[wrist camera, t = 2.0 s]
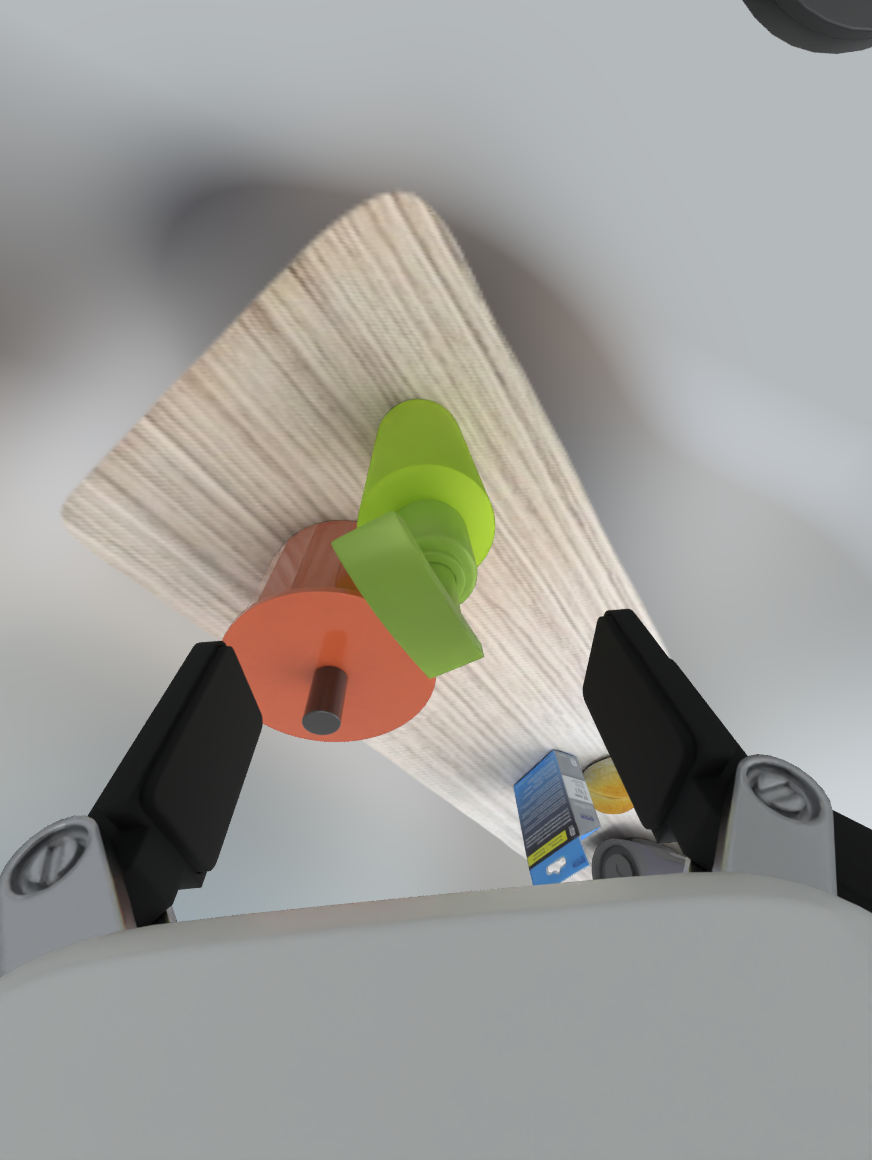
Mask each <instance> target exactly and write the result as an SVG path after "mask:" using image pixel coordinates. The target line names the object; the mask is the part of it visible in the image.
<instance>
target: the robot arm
mask: <svg viewBox="0 0 872 1160" xmlns="http://www.w3.org/2000/svg"><path fill="white" fill-rule="evenodd" d="M583 697H584V700H585V703H586V705H587V707H588V709H589V711H590V714H591V716H592V718H593V720H594V722H595V724H596V727H597V729H598V731H599V733H600V735H601V737H602V740H603V742H604V744H605V746H606V748H607V750H608V753H609V755H610V757H611V759H612V761H613V763H614V765H615V768H616V770H617V772H618V774H619V776H620V778H621V781H622V783H623V785H624V787H625V789H626V791H627V794H628V796H629V798H630V800H631V802H632V804H633V807H634V809H635V811H636V813H637V815H638V817H639V819H640V821H641V823H642V825H643V826H644V828H646V829H651V830H652V832H653V835H654V837H655V839H656V841H657V843H658V844H660V843H671V842H678V844H679V846H680V848H681V850H682V852H683V854H684V855H685V856H686V861H685V865H684V870H683V873H675V874H662V875H648V876H634V877H621V878H608V879H598V880H587V881H576V882H565V883H555V884H544V885H533V886H523V887H512V888H501V889H490V890H480V891H470V892H460V893H449V894H439V895H430V896H419V897H409V898H399V899H389V900H380V901H368V902H358V903H349V904H338V905H329V906H319V907H309V908H300V909H290V910H281V911H271V912H261V913H251V914H241V915H232V916H224V917H216V918H207V919H200V920H192V921H183V922H177V920H176V917H175V914H174V911H173V908H172V904H173V902H174V899H175V897H176V894H177V892H178V890H181V889H190V888H200V887H202V884H203V881H204V879H205V876H206V873H207V871H211V870H212V869H213V868H214V866H215V864H216V862H217V859H218V857H219V854H220V851H221V848H222V845H223V842H224V839H225V836H226V833H227V830H228V827H229V824H230V821H231V818H232V815H233V812H234V809H235V806H236V803H237V801H238V798H239V794H240V792H241V789H242V786H243V783H244V780H245V777H246V774H247V771H248V768H249V765H250V762H251V759H252V756H253V753H254V750H255V747H256V744H257V741H258V738H259V735H260V733H261V729H262V724H263V718H262V714H261V711H260V709H259V707H258V704H257V702H256V700H255V697H254V695H253V693H252V690H251V688H250V686H249V683H248V681H247V679H246V677H245V674H244V672H243V670H242V667H241V665H240V663H239V660H238V658H237V656H236V653H235V651H234V649H233V647H231V646H227V645H226V643H225V642H223V641H214V642H201V643H197V644H196V645H195V646H194V647H193V648H192V650H191V652H190V653H189V655H188V656H187V658H186V660H185V661H184V663H183V665H182V666H181V667H180V669H179V671H178V672H177V674H176V676H175V677H174V679H173V680H172V682H171V684H170V685H169V687H168V688H167V690H166V692H165V693H164V695H163V696H162V698H161V700H160V701H159V703H158V704H157V706H156V707H155V709H154V711H153V712H152V713H151V715H150V717H149V719H148V720H147V722H146V723H145V725H144V726H143V728H142V730H141V731H140V733H139V734H138V736H137V738H136V739H135V741H134V742H133V744H132V746H131V747H130V749H129V750H128V752H127V754H126V755H125V757H124V758H123V760H122V762H121V763H120V765H119V766H118V768H117V770H116V771H115V773H114V774H113V776H112V778H111V779H110V781H109V783H108V784H107V786H106V787H105V789H104V790H103V792H102V794H101V795H100V797H99V799H98V800H97V802H96V803H95V805H94V806H93V808H92V810H91V811H90V813H89V814H88V816H72V817H68V818H65V819H61V820H59V821H57V822H55V823H53V824H51V825H49V826H47V827H45V828H44V829H42V830H41V831H39V832H38V833H37V834H35V835H34V836H32V837H31V838H30V839H29V840H28V841H27V842H26V843H24V844H23V845H22V846H21V847H20V848H19V849H18V850H17V851H16V852H15V854H14V855H13V856H12V858H11V859H10V860H9V861H8V863H7V864H6V865H5V867H4V869H3V871H2V873H1V875H0V1160H872V830H871V829H869V828H867V827H865V826H863V825H861V824H859V823H857V822H855V821H853V820H851V819H849V818H847V817H845V816H843V815H841V814H840V813H838V812H835V811H834V810H832V807H831V803H830V800H829V798H828V797H827V795H826V794H825V792H824V790H823V789H822V788H821V787H820V786H819V785H818V784H817V782H816V781H815V780H814V779H813V778H812V777H810V776H809V775H807V774H806V773H805V772H803V771H802V770H801V769H800V768H798V767H796V766H794V765H792V764H790V763H789V762H787V761H785V760H782V759H779V758H776V757H773V756H768V755H760V754H756V755H751V756H747V755H746V753H745V752H744V751H743V749H742V748H741V747H740V746H739V744H738V743H737V742H736V740H735V739H734V738H733V736H732V735H731V734H730V733H729V731H728V730H727V729H726V727H725V726H724V725H723V724H722V722H721V721H720V720H719V718H718V717H717V716H716V714H715V713H714V712H713V711H712V709H711V708H710V707H709V705H708V704H707V703H706V702H705V700H704V699H703V698H702V696H701V695H700V694H699V692H698V691H697V690H696V689H695V687H694V686H693V685H692V683H691V682H690V681H689V679H688V678H687V677H686V675H685V674H684V673H683V672H682V670H681V669H680V668H679V666H678V665H677V664H676V663H675V662H674V661H673V660H672V659H670V658H669V657H668V656H667V655H666V654H665V652H664V651H663V650H662V648H661V647H660V646H659V644H658V643H657V642H656V640H655V639H654V638H653V636H652V635H651V634H650V633H649V631H648V630H647V629H646V627H645V626H644V625H643V623H642V622H641V621H640V619H639V618H638V617H637V615H636V614H635V613H634V612H633V611H632V610H631V609H621V610H608V611H606V612H605V614H604V616H603V617H599V618H598V621H597V625H596V630H595V634H594V639H593V643H592V648H591V652H590V657H589V662H588V666H587V671H586V675H585V680H584V684H583Z"/></svg>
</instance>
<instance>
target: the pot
mask: <svg viewBox="0 0 872 1160" xmlns="http://www.w3.org/2000/svg"><path fill="white" fill-rule="evenodd" d="M356 528H357V522H356V521H347V520H338V521H328V522H322V523H318V524H314V525H312V526H309V527H307V528H304V529H303V530H301V531H299V532H297V533H296V534H295V535H293V536H292V537H291V538H289V539H288V540H287V541H286V542H285V544H284V545H283V546H282V547H281V549H280V550H279V552H278V553H277V554H276V555H275V557H274V558H273V559H272V561H271V563H270V565H269V567H268V569H267V571H266V573H265V574H264V576H263V578H262V580H261V582H260V584H259V586H258V588H257V590H256V592H255V593H254V595H253V597H252V599H251V601H250V603H249V605H248V607H249V606H251V605H252V604H254V603H256V602H258V601H260V600H261V599H263V598H265V597H268V596H270V595H273V594H276V593H278V592H283V591H287V590H291V589H296V588H304V587H335V588H344V589H349V590H354V591H358V592H360V591H359V590H358V588H357V587H356V585H355V584H354V582H353V580H352V579H351V577H350V576H349V574H348V572H347V571H346V569H345V568H344V566H343V564H342V563H341V561H340V560H339V558H338V556H337V554H336V553H335V551H334V549H333V547H332V545H331V543H332V542H333V541H334V540H335V539H337V538H339V537H341V536H343V535H345V534H347V533H349V532H350V531H352V530H354V529H356ZM248 607H247V608H248Z"/></svg>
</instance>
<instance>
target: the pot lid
mask: <svg viewBox="0 0 872 1160" xmlns="http://www.w3.org/2000/svg"><path fill="white" fill-rule="evenodd" d="M222 641H223V642H225V643H226V645H227V646H231V647H233V649H234V651H235V653H236V656H237V658H238V660H239V663H240V665H241V667H242V670H243V672H244V674H245V677H246V679H247V681H248V683H249V686H250V688H251V690H252V693H253V695H254V697H255V700H256V702H257V704H258V707H259V709H260V711H261V714H262V718H263V724H265V725H267V726H269V727H271V728H273V729H275V730H277V731H280V732H283V733H285V734H288V735H292V736H295V737H299V738H304V739H309V740H315V741H324V742H348V741H356V740H363V739H368V738H372V737H376V736H379V735H383V734H385V733H388V732H390V731H392V730H394V729H396V728H398V727H400V726H402V725H404V724H405V723H407V722H408V721H409V720H411V719H412V718H413V717H414V716H416V715H417V714H418V713H419V712H420V711H421V710H422V708H423V707H424V706H425V705H426V703H427V702H428V700H429V698H430V697H431V694H432V692H433V689H434V686H435V682H436V677H434V678H431V679H429V678H428V677H427V676H426V675H425V673H424V672H423V671H422V670H421V669H420V668H419V667H418V666H417V664H416V663H415V662H414V661H413V660H412V659H411V658H410V656H409V655H408V654H407V653H406V652H405V651H404V649H403V648H402V647H401V646H400V645H399V644H398V642H397V641H396V640H395V639H394V638H393V636H392V635H391V634H390V633H389V631H388V630H387V629H386V628H385V626H384V625H383V624H382V622H381V621H380V620H379V618H378V617H377V616H376V614H375V613H374V612H373V610H372V609H371V607H370V606H369V605H368V603H367V602H366V600H365V599H364V597H363V596H362V594H361V593H360V592H358V591H354V590H349V589H344V588H335V587H304V588H296V589H291V590H287V591H283V592H278V593H276V594H273V595H270V596H268V597H265V598H263V599H261V600H260V601H258V602H256V603H254V604H252V605H251V606H249V607H248V608H247V609H245V610H244V611H243V612H242V613H241V614H240V615H239V616H238V617H237V618H236V619H235V620H234V621H233V622H232V624H231V625H230V627H229V628H228V630H227V631H226V633H225V635H224V637H223V640H222Z"/></svg>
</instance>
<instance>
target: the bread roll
mask: <svg viewBox="0 0 872 1160" xmlns="http://www.w3.org/2000/svg"><path fill="white" fill-rule="evenodd" d="M583 777H584V779H585V782H586V785H587V788H588V791H589V794H590V797H591V799H592V802H593V805H594V808H595V810H597V811H600V812H602V813H606V814H621V813H625V812H627V811H629V810H631V809H632V808H634V807H633V804H632V802H631V800H630V798H629V796H628V794H627V791H626V789H625V787H624V785H623V783H622V781H621V778H620V776H619V774H618V772H617V770H616V768H615V765H614V763H613V761H612V759H611V757H609V758H606V759H604V760H601V761H599V762H597V763H594V764H593V765H591V766H590V767H588V768H587V769H586V770H585V771H584V773H583Z"/></svg>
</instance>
